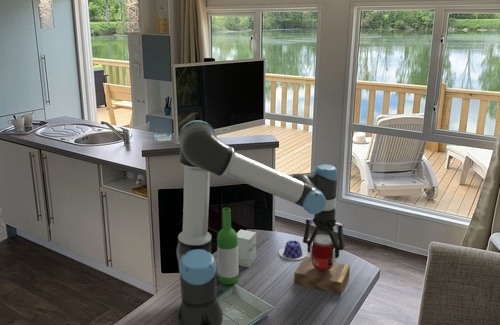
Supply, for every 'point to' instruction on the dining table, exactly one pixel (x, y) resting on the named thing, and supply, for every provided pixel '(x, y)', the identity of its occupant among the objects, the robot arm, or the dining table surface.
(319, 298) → the dining table surface
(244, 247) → the supplement box
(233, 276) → the wine bottle
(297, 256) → the pudding
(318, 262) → the canned food
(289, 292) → the dining table surface
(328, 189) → the robot arm
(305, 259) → the wooden block
